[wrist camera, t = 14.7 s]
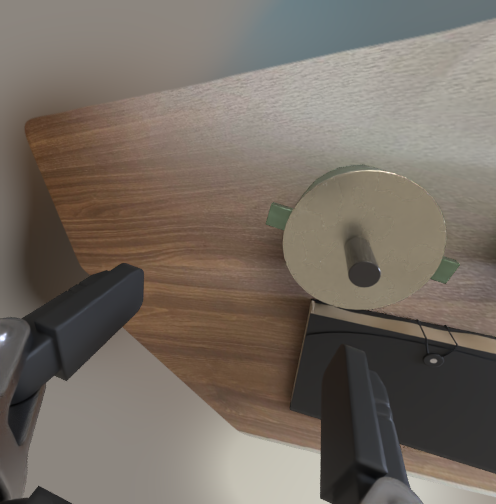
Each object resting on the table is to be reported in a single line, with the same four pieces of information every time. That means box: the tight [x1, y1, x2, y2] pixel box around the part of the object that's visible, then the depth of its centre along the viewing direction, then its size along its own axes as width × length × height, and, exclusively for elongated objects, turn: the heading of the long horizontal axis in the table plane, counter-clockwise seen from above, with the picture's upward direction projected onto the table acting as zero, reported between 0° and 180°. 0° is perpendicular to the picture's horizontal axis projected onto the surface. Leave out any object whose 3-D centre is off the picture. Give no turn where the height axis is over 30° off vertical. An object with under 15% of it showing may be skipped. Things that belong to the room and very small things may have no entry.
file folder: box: [290, 299, 496, 474], centre depth 39 cm, size 33×4×24 cm
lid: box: [283, 169, 447, 310], centre depth 23 cm, size 15×15×7 cm
